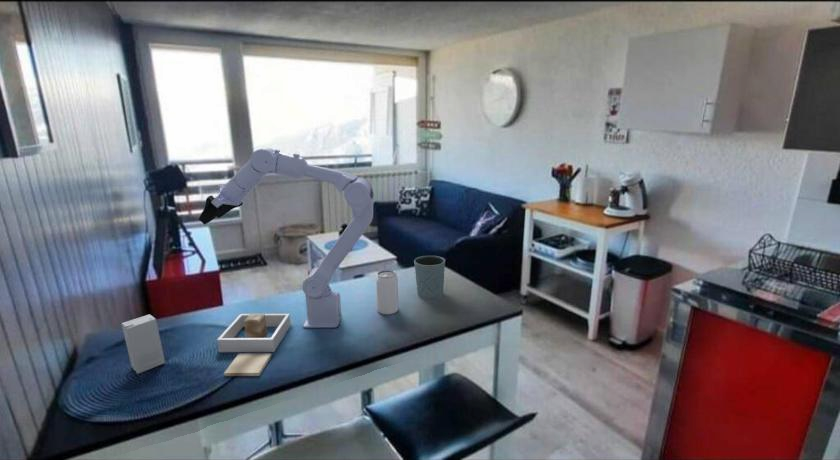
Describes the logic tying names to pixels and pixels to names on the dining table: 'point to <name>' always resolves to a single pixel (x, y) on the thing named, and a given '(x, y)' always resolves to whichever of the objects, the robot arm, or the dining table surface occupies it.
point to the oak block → (255, 326)
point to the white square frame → (254, 344)
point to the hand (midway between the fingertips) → (209, 218)
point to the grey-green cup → (429, 276)
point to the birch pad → (247, 365)
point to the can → (387, 292)
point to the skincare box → (143, 343)
